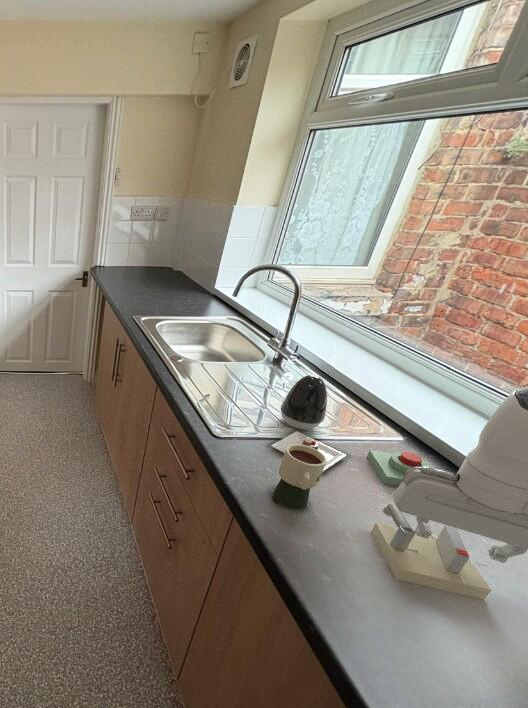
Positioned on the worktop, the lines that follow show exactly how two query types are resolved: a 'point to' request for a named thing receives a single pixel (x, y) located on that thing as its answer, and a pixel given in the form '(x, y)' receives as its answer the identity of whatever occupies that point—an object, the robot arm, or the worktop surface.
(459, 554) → the tap handle
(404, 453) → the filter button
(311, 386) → the black egg shaped dome
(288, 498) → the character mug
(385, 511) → the spout
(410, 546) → the tap block
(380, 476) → the green button base
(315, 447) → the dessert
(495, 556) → the robot arm
